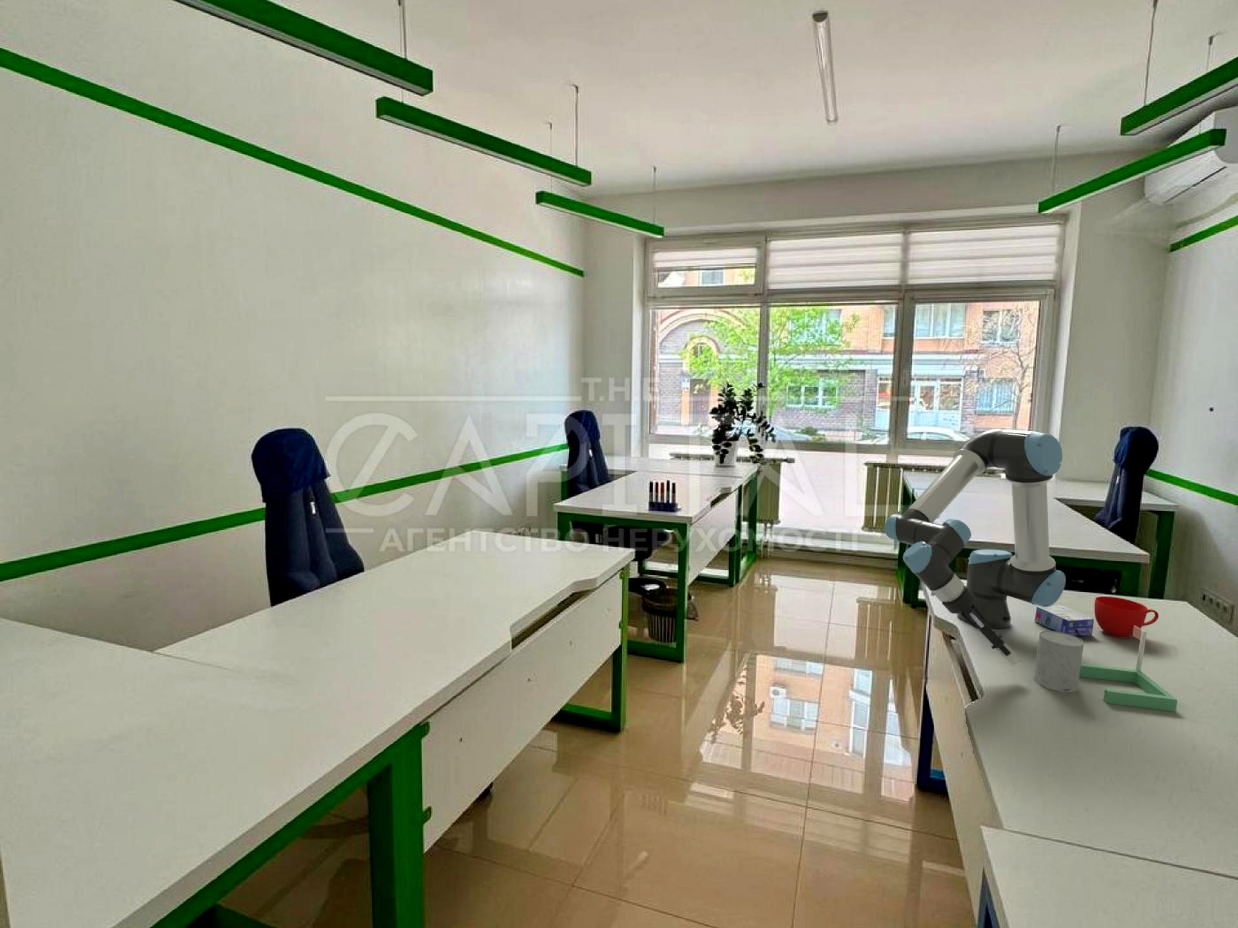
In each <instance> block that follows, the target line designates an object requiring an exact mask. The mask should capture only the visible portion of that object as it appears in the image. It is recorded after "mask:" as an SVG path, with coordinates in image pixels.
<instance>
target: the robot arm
mask: <svg viewBox="0 0 1238 928" xmlns="http://www.w3.org/2000/svg"><path fill="white" fill-rule="evenodd" d="M1062 462H1063V450H1062V447H1061V443H1060V441H1059V440H1058V439H1057V438H1056V437H1055V436H1054V435H1053V434H1050V433H1045V432H1040V431H1036V430H1035V431H1034V430H1033V431H1031V430H1017V429H1005V428H992V429H988V430H985V431H983V432H981V433H978V434H976V435H974V436H972V437H971V438H969V439H968V440H966V441H965V442H964V443H962V444H961V445H960V447H958V448H957V449H956V451H955V452H954V453H953V455H952V461H950V462H949V463H948V464H947V465H946V467H945V468H944V469H943V470H942V471H941V472H940V474H939V475H938V476H936V478H935V479H934V480H933V481H932V482H931V483H930V484H929V485H928V487H926V489H925V490H923V492H922V493H921V495H919V496H918V497H917V498H916V500H915V501H914V502H913V503H912V504H911V505H910V506H909V507H908V509H906V511H905V512H904V513H903V514H899V513H893V514H891V515H889V516H888V517H887V518H886V520H885V522H884V533H885V535H886V537H888V538H889V539H891V540H894V541H896V542H898V543H903V544H907V545H910V547H909V548H907V549H906V550H905V552H904V553H903V556H902V559H903V562H904V563H905V564H906V566H907V567H908V568H909V569H910V571H911V572H912V573H913V574H914V575H915V576H916V577H917V578H918V579H919V580H920V581H921V582H922V584H924V586H926V588H927V589H928V590H930V592H931V593H930V596H931V597H935V598H937V599H938V601H939V602H941V604H942V605H943V607H944V608H946V610H947V611H948V612H949V613H950V614H952V615H953V614H954V615H957V618H958V619H960V620H962V621H964V622H966V623H968V624H971V625H972V626H973V628H975V629H978V630H979V632H981V634H982V635H983V636H984V637H985V638H986V639H987V640H988V641H989V643H990V644H991V646H990V647H991V648H992V650H997V651H998V652H999V654H1001V656H1002V657H1003V658H1004V659H1005V660H1006V661H1007V663H1009V665H1010V666H1011V667H1013V666H1015V665H1016V664H1018V663H1020V662H1021V661H1022V659H1021V658H1020V657H1019V656H1018V655H1017V654H1016V653H1015V652H1014V650H1012V648H1010V646H1009V645H1008V643H1006V642H1005V641H1004V640H1003V639H1002V638H1003V635H1002V634H1001V633H999V634H997V633H996V631H995V630H994V629H1006V628H1009V627H1010V626H1011V621H1012V617H1011V613H1010V609H1009V606H1008V597H1010V598H1013V599H1017V600H1019V601H1023V602H1027V603H1029V604H1031V605H1034V606H1035V605H1036V606H1038V607H1039V606H1043V607H1049V606H1054V604H1056V603H1057V602H1058V600H1059V599H1060V598H1061V596H1062V594H1063V592H1064V589H1065V587H1066V580H1067V579H1066V575H1065V573H1064V572H1063V571H1061V570H1057V565H1056V563H1057V562H1056V561H1055V559H1054V557H1052V556H1050V539H1049V538H1050V537H1049V512H1048V509H1049V507H1048V485H1047V484H1048V482H1049V481H1051V480H1052V479H1053V476H1054V475H1055V474H1057V473H1058V472H1059V470H1060V468H1061V463H1062ZM990 468H997V469H1003V470H1004V474H1005V479H1006V481H1008V482H1010V484H1011V496H1012V513H1013V516H1012V518H1013V519H1012V520H1013V534H1014V555H1013V553H1012V552H1010V551H1009V550H1008V551H1006V550H1002V549H1001V550H999V549H977V550H972V552H971V553H970V555H969V561H968V563H967V564H968V566H967V567H968V568H967V577H966V585H965V583H964V582H963V581H962V580H961V579H960V577H958V576H957V574H956V573H954V571H953V570H952V569H951V568H950V567H949V565H950V564H951V563H952V562H953V560H954V559H955V558H956V557H957V556H958V555H959V554H960V552H962V550H963V549H964V548H965V547H966V544H967V543H968V542H969V541H970V539H971V538H972V531H971V529H970V528H969V526H968V525H967V524H966V523H965V522H963V521H961V520H960V519H957V518H953V517H952V518H948V519H946V520H945V521H944V522H942V524H939V523H937V522H936V520H937V519H938V518H939V517H940V516H941V515H942V513H943V512H944V511H945V510H946V509H947V508H948V507H949V505H950V504H951V503H952V502H953V501H954V500H955V499H956V498H957V497H958V495H960V493H961V492H962V491H963V490H964V489H965V488H966V486H968V484H969V483H970V482H971V481H972V480H973V479H974V478H975V476H978V475H982V474H983V473H985V471H986V470H987V469H990Z"/></svg>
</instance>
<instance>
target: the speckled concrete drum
mask: <svg viewBox="0 0 1238 928" xmlns="http://www.w3.org/2000/svg"><path fill="white" fill-rule="evenodd" d="M1038 635H1039V636H1038V643H1037V644H1038V645H1037V650H1036V659H1035V668H1034V675H1033V676H1032V677H1033V680H1034V682H1035V683H1037V684H1038V685H1039V686H1041V687H1043V688H1046V689H1048V688H1049V690H1051V689H1052V690H1051V691H1055V690H1057V691H1056V692H1059V693H1067V694H1068V693H1069V692H1070V693H1076V692H1077V691H1078V690H1079V681H1080V676H1079V675H1080V667H1081V664H1082V659H1083V652H1084V646H1085V641H1083V640H1082V639H1081V638H1079V637H1077V636H1072V635H1069V634H1066V633H1062V632H1057V631H1055V630H1043V631H1039V633H1038Z"/></svg>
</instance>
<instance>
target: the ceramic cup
mask: <svg viewBox="0 0 1238 928" xmlns="http://www.w3.org/2000/svg"><path fill="white" fill-rule="evenodd" d="M1093 607H1094V608H1093V609H1094V611H1093V612H1094V617H1095V618H1094V619H1095V620H1096V623H1097V624H1098V626H1099V627H1100V629H1101V631H1103V633H1105V634H1106V635H1109V636H1112V637H1115V638H1120V639H1130V637H1132V636H1134V635H1133V629H1134V625H1135V626H1137V627H1138V628H1140V629H1141V630H1142V628H1143V627H1146V626H1149V625H1152V624H1154V623H1156V622H1157V620H1158V619H1159V613H1158V612H1157V611H1156V610H1154V609H1152V608H1150V609H1149V608H1148V607H1147V606H1146V605H1145V604H1143V603H1140V602H1137V601H1134V600H1130V599H1128V598H1127V599H1126V598H1121V597H1116V596H1107V595H1105V596H1097V597H1095V598H1094V606H1093ZM1150 613H1153V614H1154V616H1153V618H1151V619H1150V620H1149V621H1146V618H1147V614H1150ZM1145 621H1146V622H1145Z"/></svg>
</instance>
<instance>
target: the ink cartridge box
mask: <svg viewBox="0 0 1238 928" xmlns="http://www.w3.org/2000/svg"><path fill="white" fill-rule="evenodd" d="M1034 622H1035V623H1037V624H1039V625H1041V626H1043V627H1046V628H1048V629H1051V631H1056V632H1062V633H1066V634H1069V635H1072V636H1075V637H1077V636H1092V635H1093V628H1094V623H1095V618H1093V617H1089V616H1088V615H1085V614H1082V613H1080V612H1078V611H1075V610H1073V609H1070V608H1068V607H1067V606H1064V605H1051V606H1049V607H1043V606H1039V605H1038V606H1036V611H1035V615H1034Z"/></svg>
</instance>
